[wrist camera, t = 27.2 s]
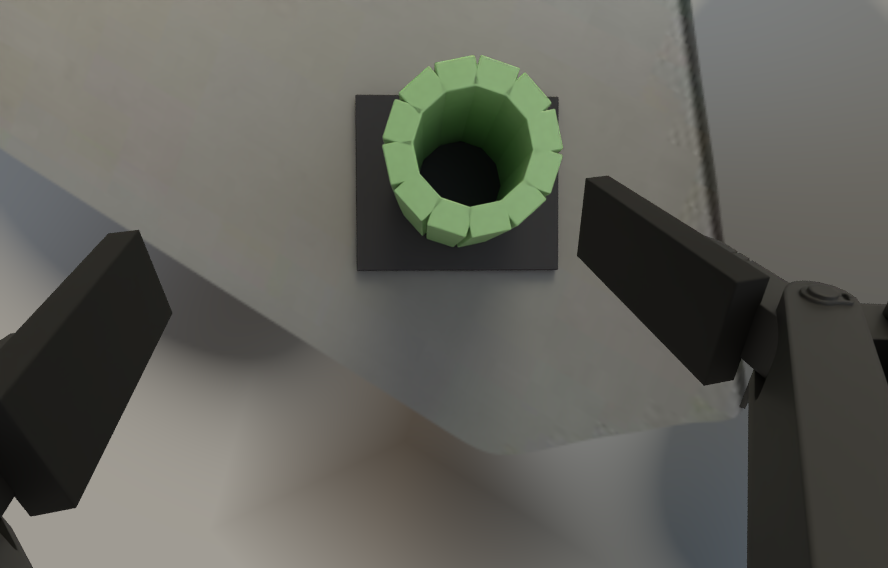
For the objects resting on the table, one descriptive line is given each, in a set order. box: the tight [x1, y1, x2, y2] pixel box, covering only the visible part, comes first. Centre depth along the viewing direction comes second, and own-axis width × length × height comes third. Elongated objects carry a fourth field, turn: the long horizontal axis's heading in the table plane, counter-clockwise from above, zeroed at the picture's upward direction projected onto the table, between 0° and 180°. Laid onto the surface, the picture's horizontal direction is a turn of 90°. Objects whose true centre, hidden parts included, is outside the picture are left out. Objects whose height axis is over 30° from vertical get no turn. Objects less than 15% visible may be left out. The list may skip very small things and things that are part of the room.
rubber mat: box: [356, 95, 558, 271], centre depth 34 cm, size 14×12×1 cm
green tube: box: [382, 55, 563, 247], centre depth 28 cm, size 9×9×10 cm
